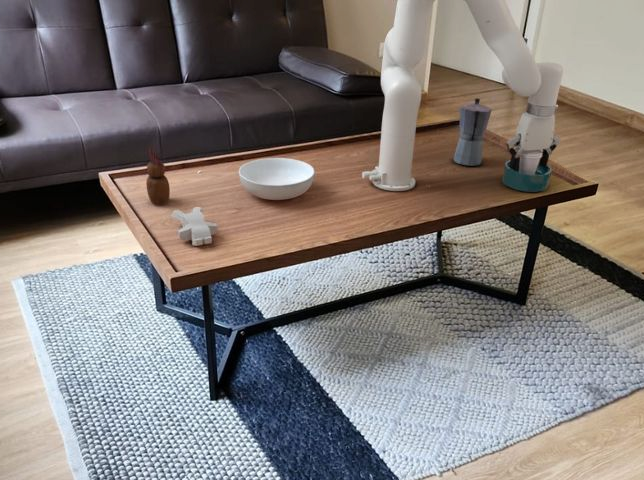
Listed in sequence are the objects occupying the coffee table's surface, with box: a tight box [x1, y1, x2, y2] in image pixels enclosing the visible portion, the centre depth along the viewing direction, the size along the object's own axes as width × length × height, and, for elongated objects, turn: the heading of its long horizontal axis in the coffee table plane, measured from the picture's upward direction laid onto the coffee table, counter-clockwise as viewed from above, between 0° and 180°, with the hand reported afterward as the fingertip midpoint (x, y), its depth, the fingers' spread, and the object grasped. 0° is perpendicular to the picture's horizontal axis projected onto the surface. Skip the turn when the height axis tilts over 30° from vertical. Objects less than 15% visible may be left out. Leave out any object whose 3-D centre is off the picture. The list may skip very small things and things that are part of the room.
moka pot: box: [453, 98, 493, 167], centre depth 200 cm, size 10×15×20 cm, turn 174°
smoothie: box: [519, 150, 543, 175], centre depth 187 cm, size 6×6×14 cm
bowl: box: [501, 159, 553, 193], centre depth 190 cm, size 13×13×6 cm
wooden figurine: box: [146, 145, 171, 206], centre depth 169 cm, size 7×6×15 cm
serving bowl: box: [238, 157, 316, 201], centre depth 178 cm, size 21×21×7 cm
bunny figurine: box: [171, 206, 219, 247], centre depth 156 cm, size 10×5×15 cm
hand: (527, 167), depth 188 cm, fingers open, 9 cm apart
